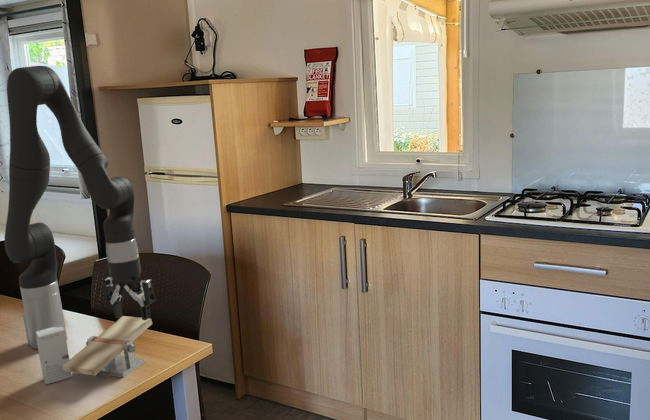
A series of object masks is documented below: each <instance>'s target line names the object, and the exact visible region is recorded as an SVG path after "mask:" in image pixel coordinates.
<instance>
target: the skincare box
mask: <svg viewBox="0 0 650 420" xmlns="http://www.w3.org/2000/svg"><path fill="white" fill-rule="evenodd" d="M36 337H37V344H38V349H37V350H38V355H39V361H40V366H41V367H40V368H41V374H42V380H43V381H44V383H45V385H50V384H53V383H56V382H60V381H63V380H67V379H71V378H72V374H73V373H72V372H67V371H64V369H63V365H64V364H65V363H66V362H67V361H69V360H70V354H69V348H68V343H67V342H68V341H67V340H66V334H65V330H64V328H63V327H62V326H57V327H52V328H47V329H44V330H40V331H36Z"/></svg>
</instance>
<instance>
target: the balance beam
mask: <svg viewBox="0 0 650 420" xmlns="http://www.w3.org/2000/svg"><path fill="white" fill-rule="evenodd" d="M152 325H153V321H152V318H149V319H147V320H142V317H137V316H129V315H128V316H127V315H126V316H125V315H122V316H121V317H119V318H118V319H117V320H115V322H114V323H113V324H110V326H109V327H107V328H106V329H105V330H104V331H103V332H102V333H99V335H98V336H97V337H96V338H95V339H94V340H93V341H92V342H91V343H89V344H88V345H87V346H86V345H85V346H84V347H83V348H82V349H80V350H79V352H77V353H76V354H75V355H74V356H72V357H71V358H69V361H67V362H66V363H65V364H64V365H63V369H64V371H67V372H71V373H75V374H83V375H90V376H96V375H98V374H97V373H98V372H99V371H100V370H101V369H103V368H104V367H105V366H106V365H107V364H108V363H109V362H110V361H111V360H113V359H114V358H115V357H116V356H117V355H118V354H119V353H120V352H121V353H122V352H124V348H123V343H124V342H125V341H127V340H132V342H134V341H135V340H136V339H138V338H139V336H141V335H142V334H143V333H144V332H145V331H146V330H147V329H148V328H150V327H151V326H152Z"/></svg>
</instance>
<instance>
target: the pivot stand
mask: <svg viewBox="0 0 650 420" xmlns="http://www.w3.org/2000/svg"><path fill="white" fill-rule="evenodd" d="M96 337H98V336H97V335H92V336H90V337H89V338H87V341H86V344H85V347H86V346H87V345H88V344H89V343H91V342H92V341H93V340H94V339H95V338H96ZM133 342H134V341H133ZM133 342H132V340H127V341H125V342H124V343H123V348H124V350H123V353H124V354H123V355H122V352H120V353H119V354H118V355H117V356H116V357H115V358H114V359H113V360H111V361H110V362H109V363H108V364H107V365H106V366H105V367H104V368H103V369H101V370H100V371H99V372H98V373H97V374H96V375H104V376H111V377H118V378H125V377H126V376H127V375H129V374H130V373H132V372H133V371H135V370H136V369H137V368H139V367H140V366H142V365H144V363H145V362H146V360H145V358H143V357H136V356H135V352H136V348H137V346H136V345H135V344H133Z"/></svg>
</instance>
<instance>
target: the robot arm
mask: <svg viewBox="0 0 650 420" xmlns="http://www.w3.org/2000/svg"><path fill="white" fill-rule="evenodd" d="M67 91H68V90H67V89H66V87H65V85H64V83H63V82H62V80H61V77H59V75H58V74H57V73H56V71H55V70H54V69H53V68H51V67H49V66H46V65H32V66H25V67H24V66H21V67H17V68H15V69H13V70H12V71H10V73H9V75H8V77H7V82H6V95H7V97H6V98H7V106H8V114H9V115H8V116H9V117H8V118H9V119H8V120H9V159H8V160H9V161H8V162H9V163H8V165H9V166H8V170H9V171H8V176H9V177H8V178H9V179H8V180H9V183H8V185H9V186H8V187H9V189H8V190H9V191H8V208H7V209H8V210H7V216H6V223H5V229H4V249H5V250H4V251H5V253H6V255H7V257H8V258H9V260H10V261H11V262H12V263H14V264H23V263H27V262H31V263H30V265H29V266H28V267H27V268H26V269H25V270H24V271H23V272H22V273H21V274H20V275H19V277H18V283H19V289H20V295H21V300H22V304H23V310H24V311H23V312H22V319H23V323H24V329H25V333H26V334H25V335H26V339H27V345H28V346H30V347H31V348H32V349H35V350H38V344H37V337H36V331H40V330H44V329H47V328H52V327H57V326H62V327H63V328H64V330H65V334H66V341H67V340H68V334H67V333H68V332H67V329H66V324H65V323H66V322H65V316H64V310H63V306H62V300H61V296H60V295H61V293H60V289H59V283H58V277H57V273H58V261H57V253H56V251H57V250H56V244H55V243H56V242H55V239H54V235H53V233H52V230H51V229H50V227H49V226H48V225H47V224H46V223H43V222H34V223H32V224H31V218H32V214H33V212H34V210H35V208H36V206H37V205H38V203H39V202H40V200H41V199H42V197H43V195H44V193H45V192H46V190H47V188H48V185H49V183H50V175H51V174H50V173H51V171H50V169H51V156H50V153H49V151H48V148H47V146H46V143H45V142H44V141H43V139H42V137H41V135H40V133H39V131H38V126H37V125H38V124H37V120H38V119H37V118H38V117H37V116H38V115H37V114H38V106H41V105H45V106H46V107H47V108H48V109H49V110H50V111H51V113H52V114H53V115H54V117H55V118H56V120H57V123H58V126H59V131H60V136H61V141H62V145H63V148H64V151H65V152H66V154H67V156H68V157H69V159H70V160H71V162H72V163H73V164H74V166H75V168H76V169H77V170H78V171H79V172H80V174H81V176H82V178H83V179H82V180H83V182H84V185H85V186H86V189H87V192H88V194H89V196H90V198H91V200H92V201H93V202H94V204H96V205H97V206H98V207H99V208H101V209H104V210H109V211H108V212H109V214H108V215H107V217H105V219H104V221H103V227H102V228H103V232H104V237H105V253H106V258H107V264H108V272H109V276H108V277H106V278H104V279H102V280H101V282H102V292H103V299H104V301H105V302H106V303H107V302H108V303H110V305H111V307H112V312H113V315H114V317H115V318H117V319H120V318H121V317H122V316H124V315H123V314H124V313H123V307H122V306H123V305H122V301H121V299H122V297H128V298H132V299H133V300H134V301H136V302H138V304H139V305H140V307H139V308H140V316H141V318H142V320H147V319H150V317H151V308H150V305H151V304H153V303H155V302H156V301H157V300H156V294H155V290H154V283H153V281H152V280H153V279H151V278H149V279H146V280H144V279H143V280H142V278H141V273H142V268H141V260H140V255H139V247H138V243H137V240H136V236H135V229H134V222H133V221H134V220H133V219H134V212H135V211H134V209H135V191H134V188H133V185H132V182H131V181H129V179H128V178H126V177H123V176H114V177H111V178H110V177H109V175H108V173H107V171H106V170H107V168H108V167H109V161H108V158H107V156H106V155H105V154H104V153H103V151H102V149H100V147H99V145H98V144H97V143H96V142H95V140H94V139H93V136H91V133H90V132H89V131H88V130H87V128H86V126H85V125H84V123H83V120H82V119H81V117H80V115H79V113H78V111H77V109H76V107H75V105H74V103H73V101H72V99H71V97H70V95H69V93H68V92H67Z"/></svg>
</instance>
